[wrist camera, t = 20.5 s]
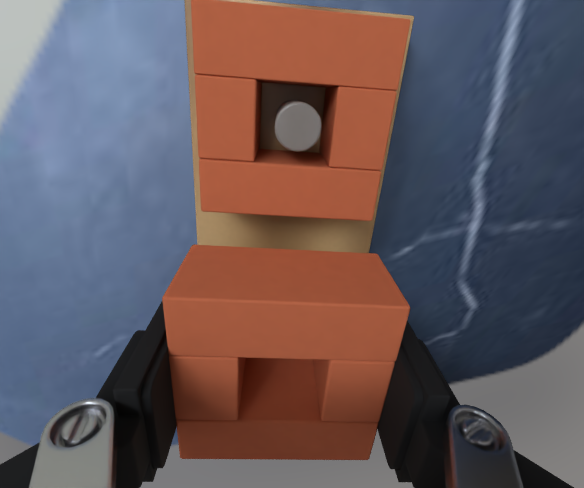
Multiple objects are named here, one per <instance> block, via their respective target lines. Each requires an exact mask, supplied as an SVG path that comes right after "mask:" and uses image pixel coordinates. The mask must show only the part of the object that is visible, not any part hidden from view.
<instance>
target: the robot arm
mask: <svg viewBox="0 0 584 488" xmlns="http://www.w3.org/2000/svg"><path fill="white" fill-rule="evenodd" d="M394 362H395V365H394V369H393V372H392V376H391V380H390V383H389V387H388V391H387V395H386V398H385V402H384V406H383V409H382V413H381V417H380V420H379V421H378V428H377V429H378V432H379V436H380V439H381V442H382V446H383V449H384V453H385V456H386V459H387V463H388V465H389V467H390V469H395V471H396V475H397V478H398V481H399V482H412V484H413V487H414V488H574V487H572V486H570V485H569V484H567V483H566V482H564V481H562V480H561V479H559V478H558V477H556V476H554V475H553V474H551V473H550V472H548V471H546V470H545V469H543V468H542V467H540V466H538V465H537V464H535V463H534V462H532V461H530V460H529V459H527V458H526V457H524V456H522V455H521V454H519V453H518V452H516V451H514V450H513V447H512V443H511V440H510V437H509V435H508V433H507V431H506V430H505V428H504V427H503V426H502V425H501V423H500V422H499V421H497V420H496V419H495V418H494V417H493V416H491V415H490V414H488V413H486V412H485V411H484V410H481V409H479V408H477V407H474V406H469V405H460V404H459V402H458V401H457V399H456V397H455V395H454V394H453V392H452V391H451V388H450V387H449V385H448V383H447V382H446V380H445V378H444V376H443V375H442V373H441V371H440V370H439V368H438V366H437V364H436V363H435V361H434V359H433V358H432V356H431V354H430V352H429V351H428V349H427V347H426V346H425V344H424V343H423V341H421V340H420V339H417V337H416V335H415V333H414V332H413V330H412V328H411V326H410V324H409V323H408V321H407V322H406V326H405V330H404V333H403V337H402V341H401V344H400V348H399V352H398V355H397V359H396V361H394ZM176 420H177V419H176V416H175V407H174V398H173V389H172V380H171V371H170V363H169V353H168V345H167V336H166V327H165V318H164V309H163V300H162V302H161V304H160V306H159V307H158V309H157V311H156V313H155V315H154V316H153V318H152V320H151V322H150V324H149V325H148V327H147V329H146V331H140V330H138V331H137V332H135V334H134V335H133V336H132V338H131V340H130V341H129V343H128V345H127V346H126V348H125V350H124V351H123V353H122V355H121V356H120V358H119V360H118V361H117V363H116V365H115V367H114V368H113V370H112V372H111V373H110V375H109V377H108V378H107V380H106V382H105V383H104V385H103V387H102V388H101V390H100V392H99V393H98V395H97V397H96V398H89V399H83V400H80V401H77V402H75V403H72V404H70V405H68V406H67V407H65V408H63V409H62V410H60V411H59V412H58V413H57V414H56V415H54V416H53V417H52V418H51V420H50V421H49V422H48V423H47V425H46V426H45V428H44V431H43V433H42V436H41V440H40V443H38V444H36V445H34V446H33V447H31V448H29V449H27V450H25V451H24V452H22V453H20V454H19V455H17V456H15V457H13V458H11V459H9V460H8V461H6V462H4V463H2V464H1V465H0V488H139V487H141V484H142V482H153V480H154V477H155V474H156V470H157V468H163V467H164V465H165V462H166V459H167V456H168V453H169V449H170V446H171V443H172V439H173V436H174V433H175V430H176V426H177V423H176Z"/></svg>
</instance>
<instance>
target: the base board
mask: <svg viewBox="0 0 584 488" xmlns="http://www.w3.org/2000/svg"><path fill="white" fill-rule="evenodd" d="M220 1H230V2H240V3H251V4H261V5H271V6H281V7H292V8H302V9H312V10H323V11H333V12H343V13H354V14H364V15H374V16H384V17H395V18H405V19H410V20H411V22H410V27H409V33H408V38H407V43H406V49H405V54H404V59H403V64H402V70H401V75H400V80H399V86H398V90H396V92H397V95H396V100H395V105H394V111H393V116H392V121H391V127H390V132H389V137H388V142H387V148H386V153H385V158H384V164H383V169H382V170H380V171H381V178H380V184H379V189H378V194H377V200H376V205H375V210H374V216H373V220H372V221H357V220H340V219H323V218H305V217H288V216H271V215H253V214H236V213H219V212H203V211H202V210H201V202H200V180H199V159H200V158H199V156H198V139H197V117H196V96H195V75H197V74H195V73H194V59H193V37H192V16H191V0H185V19H186V37H187V56H188V75H189V94H190V113H191V131H192V150H193V169H194V188H195V206H196V225H197V244H198V245H211V246H231V247H252V248H272V249H292V250H312V251H333V252H353V253H369V249H370V244H371V239H372V234H373V229H374V223H375V218H376V213H377V208H378V203H379V197H380V192H381V187H382V182H383V176H384V171H385V166H386V161H387V156H388V150H389V145H390V140H391V135H392V130H393V124H394V119H395V114H396V109H397V104H398V98H399V93H400V88H401V83H402V78H403V72H404V67H405V62H406V57H407V52H408V46H409V41H410V36H411V31H412V25H413V20H414V16H409V15H398V14H388V13H378V12H368V11H358V10H347V9H337V8H327V7H317V6H306V5H296V4H286V3H276V2H265V1H255V0H220ZM260 83H261V84H262V93H261V126H260V147H259V149H272V150H286V151H295V152H314V153H320V152H319V147H320V137H321V129H322V118H323V109H324V99H325V90H326V88H325V87H313V86H301V85H289V84H277V83H265V82H260Z"/></svg>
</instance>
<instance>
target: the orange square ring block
mask: <svg viewBox="0 0 584 488" xmlns="http://www.w3.org/2000/svg"><path fill="white" fill-rule="evenodd" d="M162 300H163V309H164V318H165V327H166V336H167V345H168V353H169V363H170V371H171V380H172V389H173V398H174V407H175V416H176V419H177V420H176V423H177V433H178V442H179V451H180V458H182V459H298V460H300V459H302V460H368V459H369V457H370V454H371V450H372V446H373V443H374V439H375V435H376V432H377V428H378V421H379V420H380V417H381V413H382V409H383V406H384V402H385V398H386V395H387V391H388V387H389V383H390V380H391V376H392V372H393V369H394V365H395V362H394V361H396V359H397V355H398V352H399V348H400V344H401V341H402V337H403V333H404V330H405V326H406V322H407V319H408V315H409V311H410V306H409V304H408V303H407V301H406V299H405V298H404V296H403V295H402V293H401V291H400V290H399V288H398V286H397V285H396V283H395V282H394V280H393V278H392V277H391V275H390V273H389V272H388V270H387V269H386V267H385V265H384V264H383V262H382V261H381V259H380V257H379V256H378V254H373V253H353V252H333V251H312V250H292V249H272V248H252V247H231V246H211V245H192V247H191V248H190V250H189V252H188V254H187V255H186V257H185V259H184V261H183V262H182V264H181V266H180V268H179V269H178V271H177V273H176V275H175V277H174V278H173V280H172V282H171V284H170V285H169V287H168V289H167V291H166V292H165V294H164V296H163V298H162Z"/></svg>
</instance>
